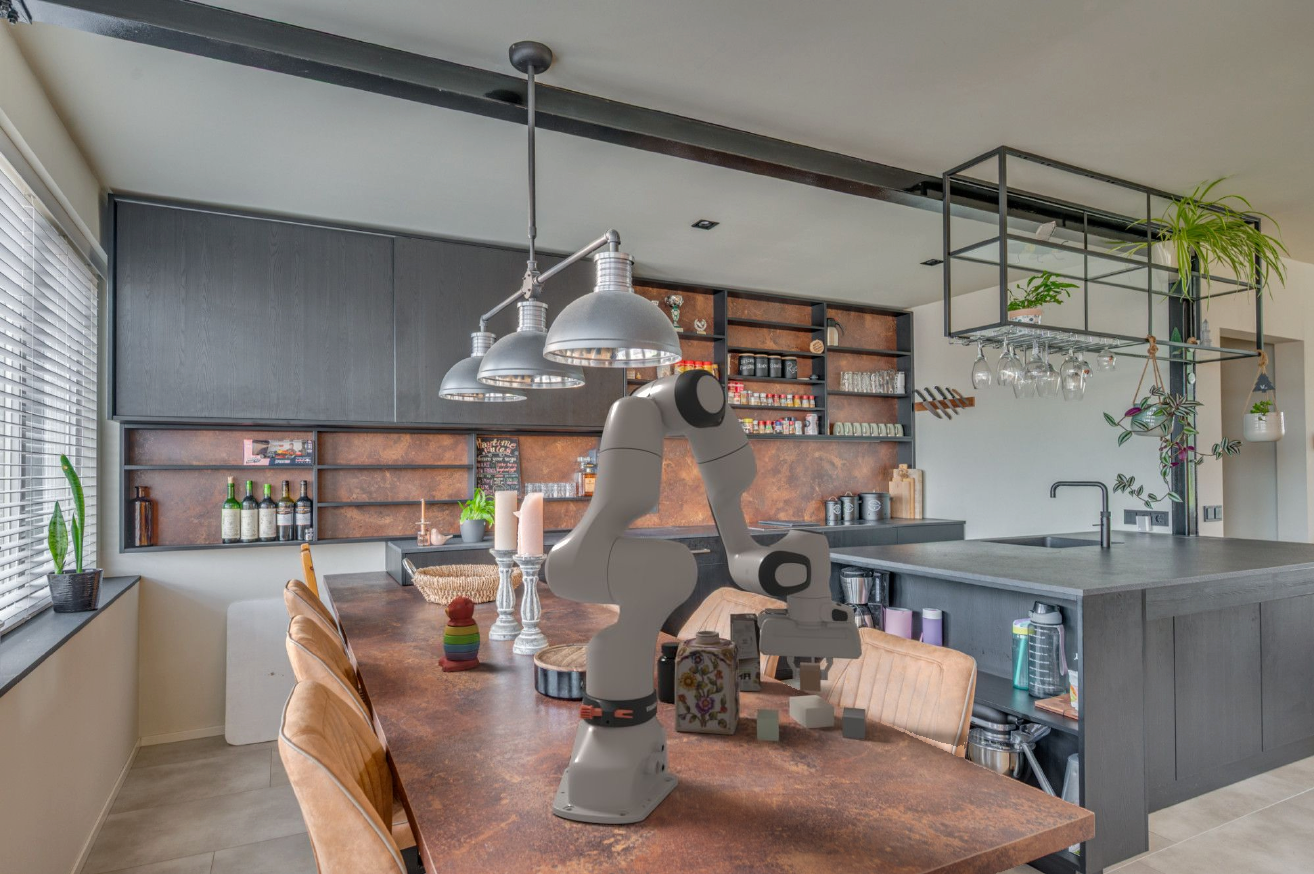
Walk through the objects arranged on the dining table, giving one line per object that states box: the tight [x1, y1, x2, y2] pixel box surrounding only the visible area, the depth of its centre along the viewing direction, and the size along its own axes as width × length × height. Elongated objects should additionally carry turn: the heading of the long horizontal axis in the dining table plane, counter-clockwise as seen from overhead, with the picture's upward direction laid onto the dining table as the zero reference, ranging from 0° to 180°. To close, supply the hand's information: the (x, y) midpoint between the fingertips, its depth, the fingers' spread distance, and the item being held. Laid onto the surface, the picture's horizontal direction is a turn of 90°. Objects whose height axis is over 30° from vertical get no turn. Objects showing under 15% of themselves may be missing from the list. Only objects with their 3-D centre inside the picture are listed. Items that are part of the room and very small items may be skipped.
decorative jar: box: [674, 630, 741, 736], centre depth 148 cm, size 12×12×18 cm
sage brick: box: [756, 708, 780, 742], centre depth 141 cm, size 6×4×4 cm, turn 171°
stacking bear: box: [437, 595, 481, 673], centre depth 194 cm, size 11×10×18 cm
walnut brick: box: [799, 662, 822, 692], centre depth 149 cm, size 6×4×4 cm, turn 168°
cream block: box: [788, 694, 835, 729], centre depth 149 cm, size 8×6×4 cm
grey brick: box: [841, 706, 867, 741], centre depth 141 cm, size 6×4×4 cm, turn 162°
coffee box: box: [729, 612, 761, 692], centre depth 174 cm, size 9×6×16 cm
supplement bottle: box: [656, 641, 681, 704], centre depth 164 cm, size 7×7×12 cm
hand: (810, 678), depth 149 cm, fingers closed on walnut brick, 4 cm apart
